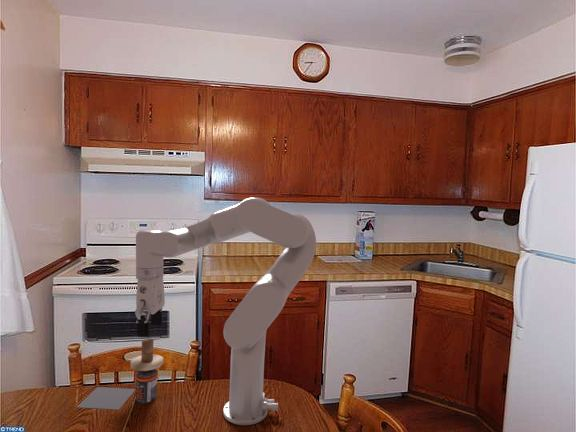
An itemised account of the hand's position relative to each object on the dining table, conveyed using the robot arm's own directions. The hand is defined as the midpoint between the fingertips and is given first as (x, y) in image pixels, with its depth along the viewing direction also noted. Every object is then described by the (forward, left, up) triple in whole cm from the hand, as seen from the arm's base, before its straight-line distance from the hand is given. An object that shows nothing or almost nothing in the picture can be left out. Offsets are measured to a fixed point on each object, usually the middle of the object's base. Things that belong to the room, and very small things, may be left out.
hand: (150, 330), depth 107 cm
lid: (+1, 0, -10) cm, 10 cm away
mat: (+12, +1, -21) cm, 24 cm away
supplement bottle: (+1, 0, -22) cm, 22 cm away
